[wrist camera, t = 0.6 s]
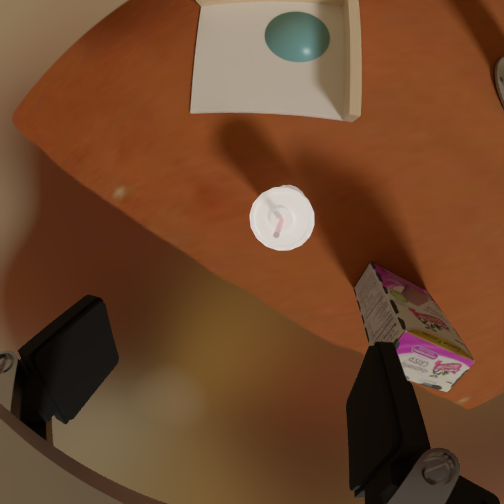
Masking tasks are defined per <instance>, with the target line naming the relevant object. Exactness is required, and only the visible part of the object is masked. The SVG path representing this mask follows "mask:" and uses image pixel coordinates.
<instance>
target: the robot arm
mask: <svg viewBox="0 0 504 504" xmlns="http://www.w3.org/2000/svg"><path fill="white" fill-rule="evenodd" d="M495 83H496V88H497V91H498V95H499V98H500V100H501V103H502V105H503V107H504V57H502V58H500V59H499V60H498V61H497V63H496V66H495ZM18 352H19V354H20V356H21V359H20V360H19V359H18V357H17V355H16V354H15V353H14V352H12V351H2V352H0V504H167V503H164V502H161V501H158V500H156V499H153V498H150V497H148V496H145V495H143V494H140V493H138V492H136V491H133V490H131V489H129V488H127V487H125V486H122V485H120V484H118V483H116V482H114V481H112V480H110V479H108V478H106V477H104V476H102V475H100V474H98V473H97V472H95V471H93V470H91V469H89V468H88V467H85V466H84V465H82V464H81V463H79V462H77V461H76V460H74V459H72V458H71V457H69V456H68V455H66V454H65V453H63V452H62V451H60V450H59V449H57V448H56V447H54V446H53V434H52V418H51V417H52V416H53V415H54V416H55V417H56V419H58V420H59V421H61V422H63V423H64V424H67V423H68V421H69V420H72V419H73V418H74V417H75V416H76V415H77V414H78V412H79V411H80V410H81V408H82V407H83V406H84V405H85V403H86V402H87V401H88V400H89V398H90V397H91V396H92V395H93V393H94V392H95V391H96V390H97V388H98V387H99V386H100V385H101V383H102V382H103V381H104V379H105V378H106V377H107V376H108V375H109V373H110V372H111V371H112V370H113V369H114V367H115V366H116V365H117V363H118V360H119V356H118V352H117V349H116V345H115V342H114V338H113V335H112V330H111V327H110V323H109V318H108V314H107V309H106V305H105V303H103V300H102V299H101V298H99V297H96V296H92V295H86V296H85V297H83V298H82V299H81V300H79V301H78V302H77V303H76V304H74V305H73V306H72V307H71V308H69V309H68V310H67V311H65V312H64V313H63V314H61V315H60V316H59V317H58V318H56V319H55V320H54V321H53V322H52V323H50V324H49V325H48V326H46V327H45V328H44V329H43V330H42V331H40V332H39V333H38V334H37V335H35V336H34V337H33V338H32V339H31V340H30V341H28V342H27V343H26V344H25V345H24V346H22V347H21V348H20V349H19V350H18ZM346 414H347V428H348V446H349V486H350V490H355V497H365V504H500V502H499V499H498V498H497V497H496V496H495V495H494V494H493V493H491V492H489V491H487V490H485V489H484V488H482V487H480V486H478V485H476V484H474V483H472V482H471V481H469V480H467V479H465V478H464V477H462V476H460V475H459V474H460V463H459V460H458V458H457V457H456V455H455V454H454V453H453V452H451V451H450V450H448V449H444V448H432V449H431V447H430V443H429V440H428V436H427V432H426V428H425V425H424V421H423V418H422V414H421V411H420V408H419V405H418V401H417V398H416V395H415V392H414V389H413V386H412V384H411V383H410V382H409V381H407V379H406V376H405V373H404V370H403V368H402V365H401V362H400V359H399V356H398V353H397V351H396V348H395V345H394V343H393V342H379V341H377V342H375V343H374V346H369V347H368V350H367V352H366V355H365V358H364V360H363V363H362V366H361V368H360V371H359V374H358V376H357V378H356V381H355V383H354V386H353V388H352V390H351V392H350V395H349V397H348V400H347V404H346Z"/></svg>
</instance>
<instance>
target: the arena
mask: <svg viewBox="0 0 504 504" xmlns="http://www.w3.org/2000/svg"><path fill="white" fill-rule="evenodd" d="M196 2H197V3H198V4H199V5H200V6H201V11H200V18H199V26H198V33H197V42H196V51H195V60H194V71H193V82H192V95H191V109H190V113H191V114H198V113H264V114H283V115H296V116H307V117H317V118H325V119H333V120H341V121H347V122H353V121H354V120H356V119H357V118H359V117H360V116H361V92H362V53H361V27H360V12H359V0H196Z"/></svg>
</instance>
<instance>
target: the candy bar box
mask: <svg viewBox="0 0 504 504" xmlns="http://www.w3.org/2000/svg"><path fill="white" fill-rule="evenodd" d="M354 292H355V295H356V299H357V302H358V305H359V309H360V312H361V316H362V319H363V324H364V327H365V331H366V335H367V339H368V342H369V346H374V343H375V342H377V341H379V342H393V343H394V345H395V348H396V351H397V353H398V356H399V359H400V362H401V365H402V368H403V370H404V373H405V376H406V379H407V380H410V381H413V382H416V383H419V384H422V385H425V386H428V387H431V388H435V389H438V390H441V391H445V392H448V391H449V390H450V389H451V387H452V386H453V385H454V384H455V383H456V382H457V381H458V380H459V379H460V378H461V377H462V376H463V375H464V372H466V371H468V370H469V368H470V367H471V366H472V364H473V363H474V361H475V360H474V359H473V357H472V356H471V354H470V352H469V351H468V349H467V347H466V346H465V344H464V343H463V341H462V340H461V338H460V337H459V335H458V334H457V332H456V331H455V329H454V328H453V326H452V325H451V324H450V322H449V321H448V319H447V318H446V316H445V315H444V313H443V312H442V311H441V309H440V308H439V307H438V305H437V304H436V302H435V301H434V300H433V298H432V297H431V296H430V294H429V293H428V291H426V290H424V289H422V288H420V287H418V286H417V285H415V284H413V283H411V282H409V281H407V280H405V279H403V278H401V277H400V276H398V275H396V274H394V273H392V272H390V271H388V270H386V269H384V268H382V267H380V266H378V265H376V264H375V263H373V262H370V263H369V264H368V266H367V268H366V269H365V271H364V273H363V275H362V276H361V278H360V279H359V281H358V282H357V284H356V286H355V287H354Z"/></svg>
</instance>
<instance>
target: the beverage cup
mask: <svg viewBox="0 0 504 504" xmlns="http://www.w3.org/2000/svg"><path fill="white" fill-rule="evenodd" d="M250 224H251V229H252V230H253V232H254V234H255V236H256V238H257V239H258V240H259V241H260V242H262V243H263V244H264V245H265V246H267V247H269V248H272V249H275V250H292V249H294V248H296V247H299V246H301V245H302V244H303V243H304V242H305V241H306V240H307V239H308V238H309V237H310V235H311V233H312V230H313V228H314V211H313V209H312V206H311V204H310V202H309V200H308V199H307V198H306V197H305V196H304V194H303V192H302V191H301V190H300V189H298V188H297V187H295V186H292V185H283V186H281V187H274V188H272V189H270V190H268V191H266V192H263V193H262V194H261V195H260V196H259V197H258V198H257V199H256V201H255V202H254V203H253V206H252V209H251V212H250Z"/></svg>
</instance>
